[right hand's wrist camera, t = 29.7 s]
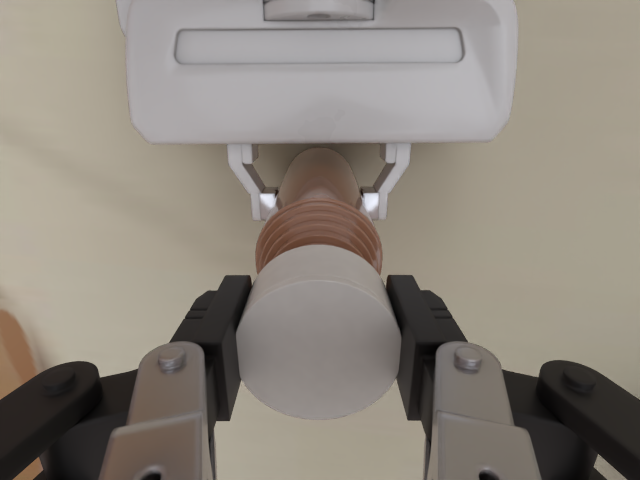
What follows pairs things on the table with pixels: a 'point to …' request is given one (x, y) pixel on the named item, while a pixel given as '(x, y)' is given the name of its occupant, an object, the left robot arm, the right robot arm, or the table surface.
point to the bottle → (319, 211)
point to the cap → (318, 334)
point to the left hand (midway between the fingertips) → (320, 218)
